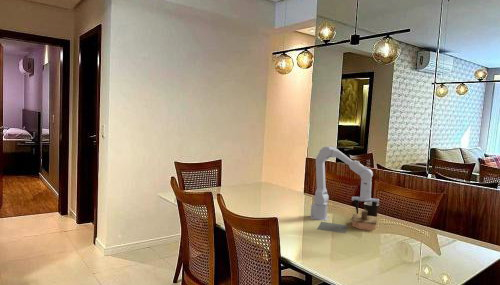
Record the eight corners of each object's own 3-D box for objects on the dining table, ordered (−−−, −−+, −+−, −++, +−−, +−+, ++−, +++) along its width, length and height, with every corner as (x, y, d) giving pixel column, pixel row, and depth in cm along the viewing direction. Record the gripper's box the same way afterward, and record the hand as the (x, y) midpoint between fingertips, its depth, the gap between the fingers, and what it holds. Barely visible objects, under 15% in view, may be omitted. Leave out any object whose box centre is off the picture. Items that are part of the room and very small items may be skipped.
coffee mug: (379, 222, 209) (380, 206, 209) (363, 221, 211) (364, 205, 210) (376, 217, 221) (377, 201, 220) (361, 216, 222) (362, 200, 222)
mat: (316, 230, 192) (316, 229, 192) (321, 222, 207) (321, 221, 206) (345, 234, 187) (345, 233, 187) (347, 226, 201) (347, 225, 201)
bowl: (351, 228, 197) (352, 221, 197) (353, 222, 209) (353, 215, 208) (375, 231, 193) (375, 224, 193) (375, 225, 205) (375, 218, 204)
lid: (351, 221, 197) (351, 212, 196) (353, 215, 209) (353, 207, 208) (376, 224, 192) (376, 215, 192) (376, 218, 204) (377, 209, 204)
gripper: (351, 190, 198) (350, 214, 199) (379, 193, 193) (378, 217, 194) (352, 188, 205) (351, 211, 206) (379, 190, 200) (378, 214, 201)
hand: (364, 214), depth 200 cm, fingers open, 7 cm apart
